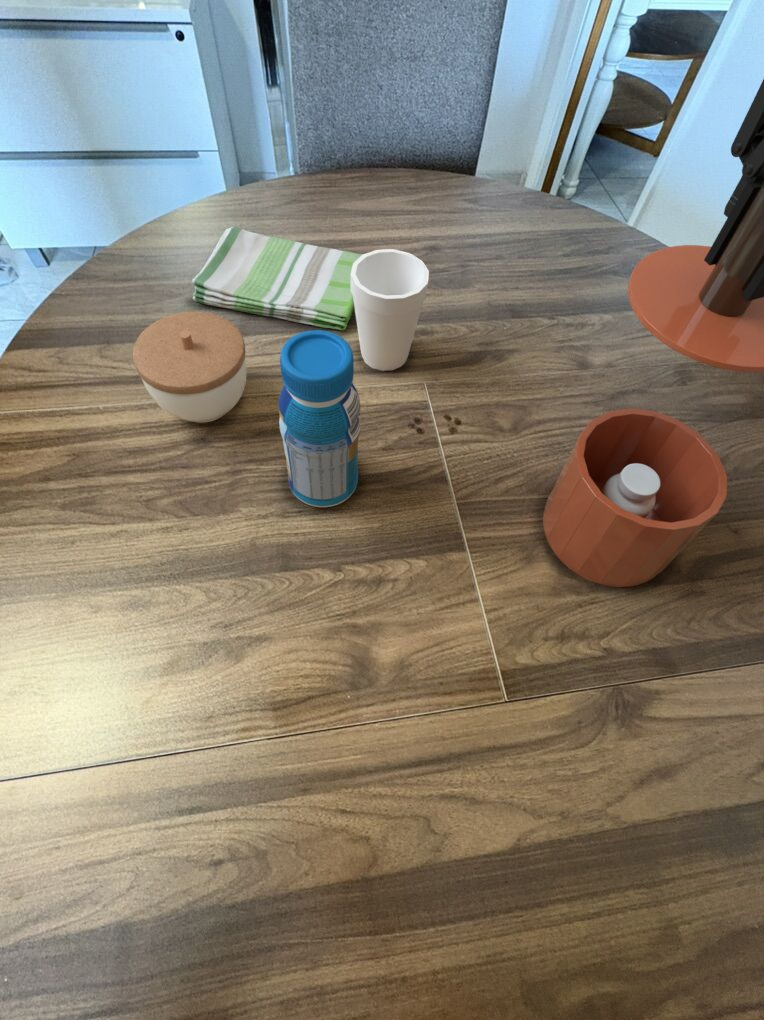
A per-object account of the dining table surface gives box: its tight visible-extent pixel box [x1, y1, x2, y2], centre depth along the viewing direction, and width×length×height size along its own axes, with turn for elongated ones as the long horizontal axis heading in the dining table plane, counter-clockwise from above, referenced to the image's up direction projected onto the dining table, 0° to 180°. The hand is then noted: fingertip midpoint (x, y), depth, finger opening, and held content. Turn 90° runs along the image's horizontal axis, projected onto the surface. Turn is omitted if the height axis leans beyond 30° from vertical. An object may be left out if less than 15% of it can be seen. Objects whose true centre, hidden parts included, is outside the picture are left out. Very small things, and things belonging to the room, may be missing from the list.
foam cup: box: [351, 248, 430, 372], centre depth 79 cm, size 10×9×13 cm
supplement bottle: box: [601, 463, 660, 518], centre depth 66 cm, size 5×5×10 cm
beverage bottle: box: [277, 329, 362, 508], centre depth 64 cm, size 8×8×20 cm
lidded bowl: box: [132, 311, 248, 424], centre depth 74 cm, size 13×13×11 cm
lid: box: [627, 182, 764, 373], centre depth 48 cm, size 16×16×11 cm
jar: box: [542, 407, 728, 588], centre depth 65 cm, size 15×15×12 cm
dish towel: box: [191, 226, 363, 331], centre depth 90 cm, size 17×23×4 cm
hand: (738, 276), depth 50 cm, fingers closed on lid, 4 cm apart
